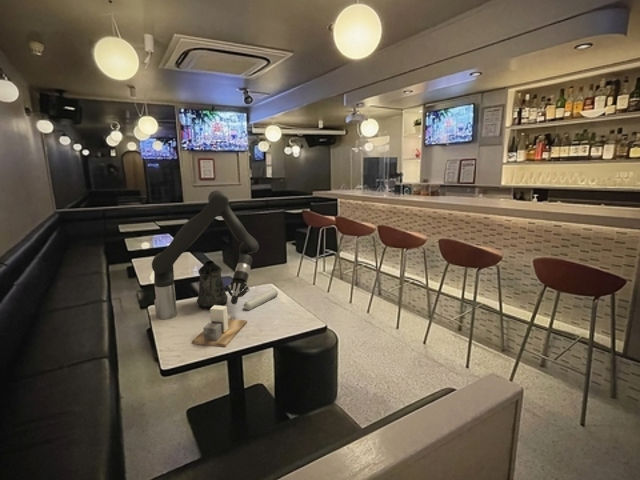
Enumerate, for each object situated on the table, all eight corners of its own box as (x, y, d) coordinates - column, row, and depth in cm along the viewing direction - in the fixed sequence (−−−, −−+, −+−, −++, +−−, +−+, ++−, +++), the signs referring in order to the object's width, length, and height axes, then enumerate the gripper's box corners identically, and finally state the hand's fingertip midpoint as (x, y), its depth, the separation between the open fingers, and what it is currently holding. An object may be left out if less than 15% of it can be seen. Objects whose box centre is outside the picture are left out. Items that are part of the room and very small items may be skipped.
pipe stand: (192, 343, 157) (191, 328, 156) (217, 320, 180) (216, 306, 179) (226, 346, 154) (225, 331, 153) (247, 322, 177) (246, 309, 176)
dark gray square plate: (211, 332, 163) (211, 322, 162) (213, 331, 164) (212, 321, 163) (222, 333, 162) (221, 323, 161) (223, 332, 163) (222, 322, 162)
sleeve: (211, 331, 164) (210, 308, 162) (215, 327, 168) (214, 305, 166) (224, 332, 163) (223, 309, 161) (228, 328, 167) (227, 306, 165)
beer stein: (222, 296, 211) (220, 256, 206) (233, 308, 195) (231, 264, 190) (194, 302, 203) (190, 260, 198) (202, 314, 187) (199, 269, 182)
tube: (250, 305, 189) (278, 290, 210) (242, 300, 192) (272, 286, 212) (248, 313, 191) (276, 298, 212) (241, 308, 194) (270, 294, 214)
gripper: (227, 269, 186) (218, 299, 177) (251, 270, 184) (243, 301, 175) (232, 275, 193) (223, 305, 183) (255, 277, 190) (247, 307, 181)
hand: (233, 303), depth 179 cm, fingers closed
